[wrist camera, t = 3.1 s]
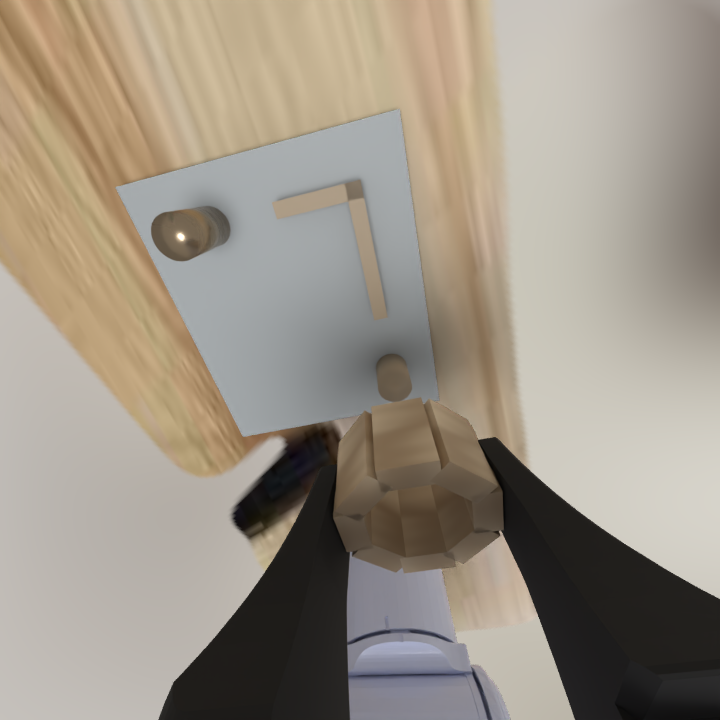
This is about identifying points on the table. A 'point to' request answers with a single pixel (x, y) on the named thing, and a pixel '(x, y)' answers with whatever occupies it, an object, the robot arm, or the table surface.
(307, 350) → the board
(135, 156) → the table surface
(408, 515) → the ring
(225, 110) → the table surface
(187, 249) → the end peg
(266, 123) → the table surface
